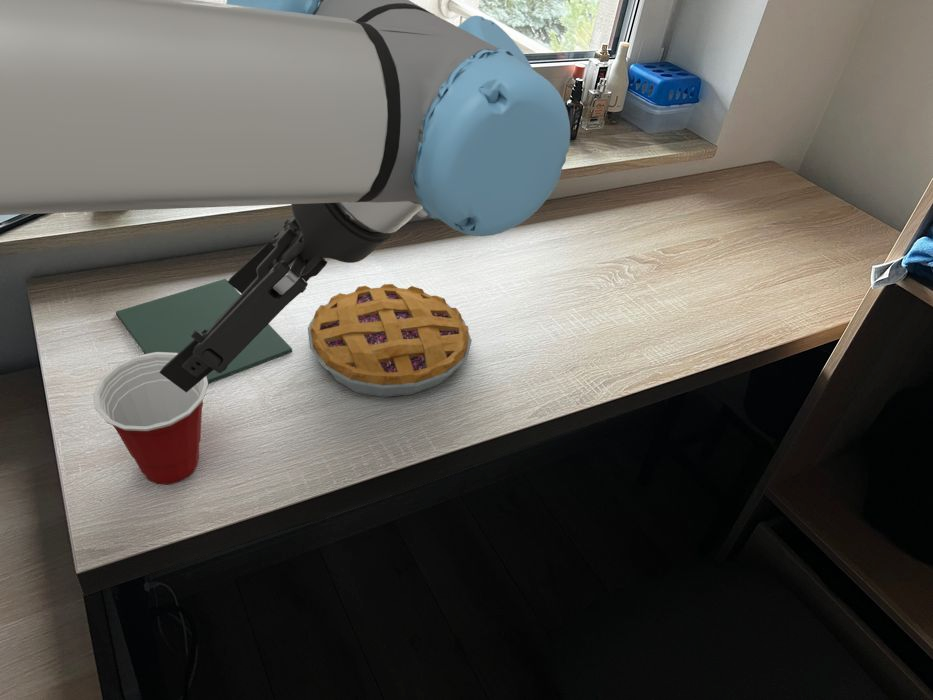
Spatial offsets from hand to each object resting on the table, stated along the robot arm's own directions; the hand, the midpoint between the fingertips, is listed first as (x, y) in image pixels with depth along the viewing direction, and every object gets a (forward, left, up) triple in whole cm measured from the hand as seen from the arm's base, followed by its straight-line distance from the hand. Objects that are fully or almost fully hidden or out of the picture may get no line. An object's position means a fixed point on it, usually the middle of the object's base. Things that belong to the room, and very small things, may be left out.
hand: (209, 331), depth 65 cm
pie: (+28, +10, -22) cm, 37 cm away
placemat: (+9, +27, -21) cm, 36 cm away
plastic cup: (-4, +7, -22) cm, 23 cm away
